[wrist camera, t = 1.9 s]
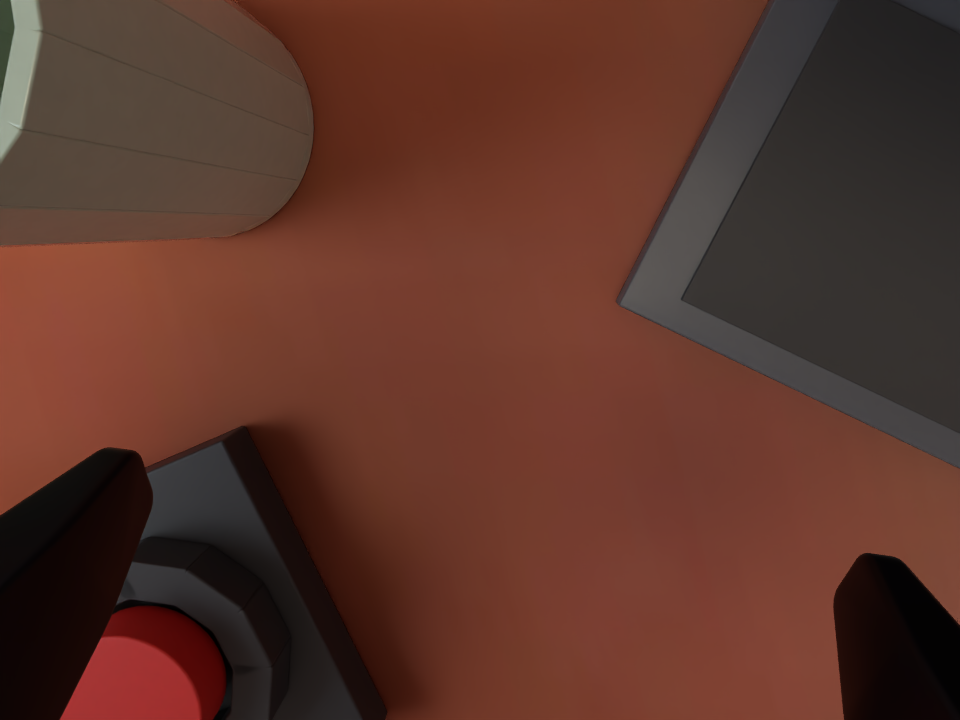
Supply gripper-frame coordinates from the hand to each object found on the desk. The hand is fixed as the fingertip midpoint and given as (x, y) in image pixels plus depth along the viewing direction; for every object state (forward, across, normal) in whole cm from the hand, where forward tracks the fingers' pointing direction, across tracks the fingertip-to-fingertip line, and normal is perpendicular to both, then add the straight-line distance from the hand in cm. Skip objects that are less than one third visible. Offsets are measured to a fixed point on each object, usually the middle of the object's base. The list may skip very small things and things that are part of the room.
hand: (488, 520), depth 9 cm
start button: (+4, +10, +15) cm, 18 cm away
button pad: (+7, +10, +16) cm, 20 cm away
